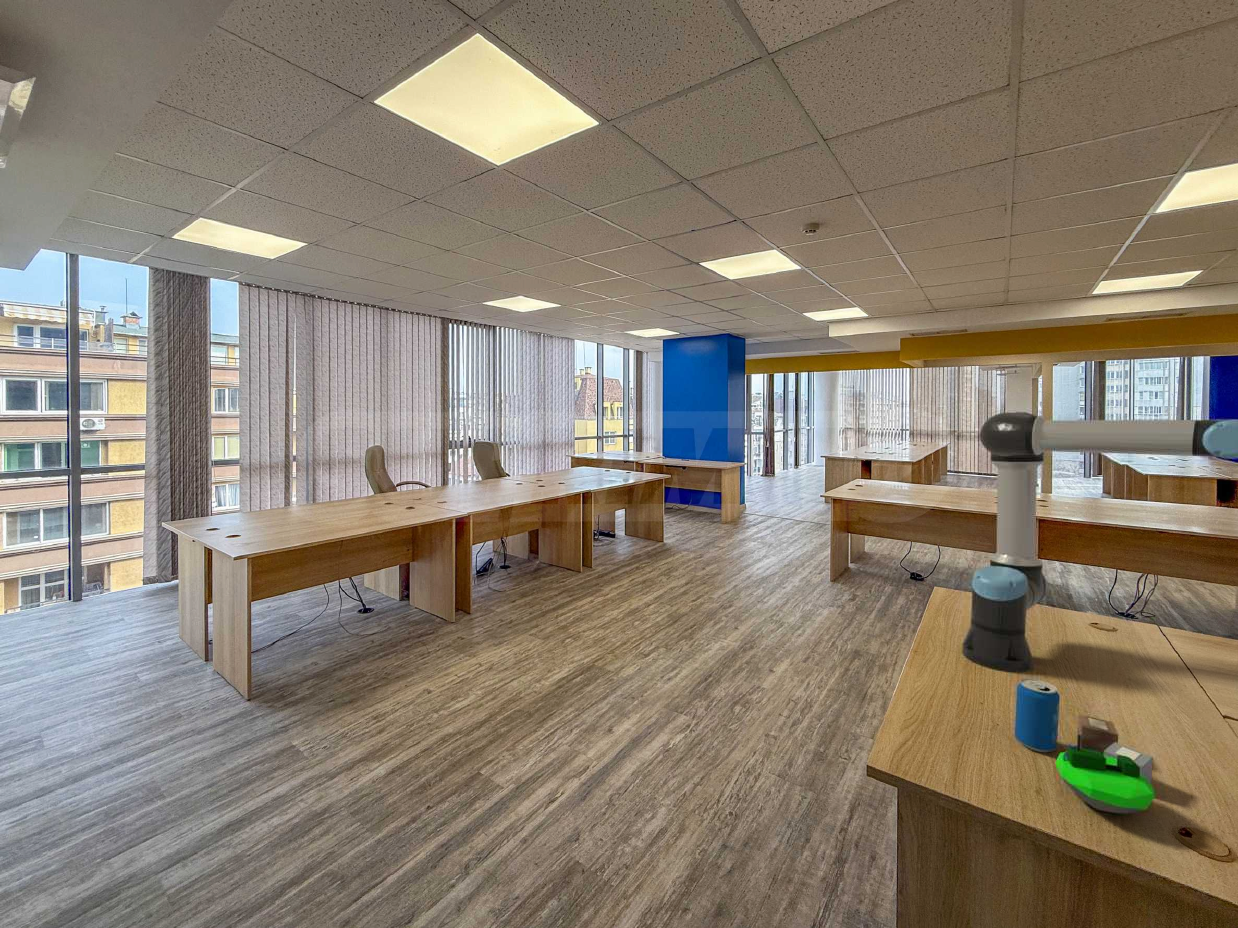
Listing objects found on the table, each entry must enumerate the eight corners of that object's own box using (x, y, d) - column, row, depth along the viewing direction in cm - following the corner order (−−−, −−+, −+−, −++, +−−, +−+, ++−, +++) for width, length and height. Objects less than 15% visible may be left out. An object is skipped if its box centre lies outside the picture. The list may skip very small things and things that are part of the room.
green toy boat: (1073, 820, 84) (1077, 755, 83) (1044, 773, 95) (1047, 714, 94) (1172, 840, 80) (1177, 771, 79) (1130, 788, 91) (1134, 727, 89)
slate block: (1102, 777, 94) (1103, 750, 93) (1113, 768, 96) (1114, 741, 96) (1140, 794, 89) (1142, 765, 89) (1150, 784, 92) (1152, 756, 91)
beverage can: (1046, 758, 99) (1049, 696, 98) (1007, 740, 105) (1010, 681, 104) (1063, 748, 102) (1066, 688, 101) (1025, 731, 108) (1028, 674, 107)
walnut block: (1081, 751, 101) (1082, 725, 101) (1077, 738, 105) (1078, 713, 105) (1116, 760, 98) (1118, 734, 98) (1111, 746, 102) (1113, 721, 102)
